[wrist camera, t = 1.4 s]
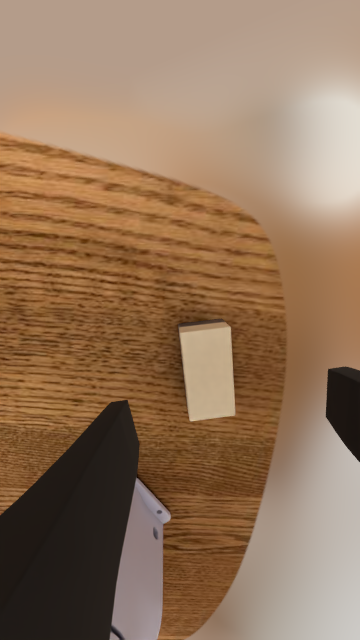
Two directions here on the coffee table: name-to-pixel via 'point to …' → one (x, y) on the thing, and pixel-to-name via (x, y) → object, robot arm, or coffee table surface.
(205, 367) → the eraser
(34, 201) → the coffee table surface
